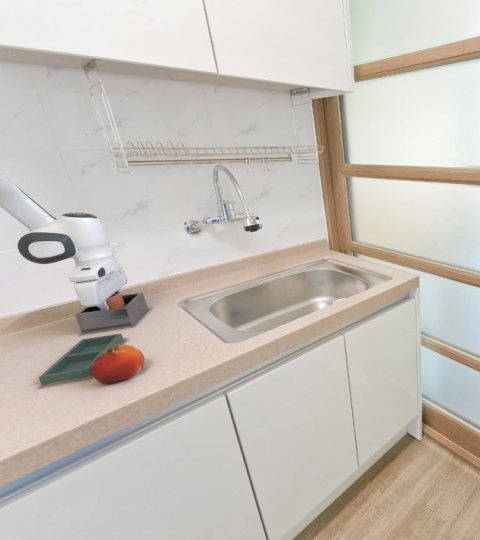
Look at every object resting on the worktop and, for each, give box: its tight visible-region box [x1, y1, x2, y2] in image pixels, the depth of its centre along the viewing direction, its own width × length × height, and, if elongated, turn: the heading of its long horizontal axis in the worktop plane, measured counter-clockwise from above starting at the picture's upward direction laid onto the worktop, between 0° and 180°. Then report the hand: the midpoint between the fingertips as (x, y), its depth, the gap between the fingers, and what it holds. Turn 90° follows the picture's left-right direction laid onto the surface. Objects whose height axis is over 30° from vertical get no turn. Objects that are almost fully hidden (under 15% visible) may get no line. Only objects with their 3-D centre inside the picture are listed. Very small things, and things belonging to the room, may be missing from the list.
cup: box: [100, 291, 126, 310], centre depth 104 cm, size 6×6×8 cm
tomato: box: [91, 343, 145, 384], centre depth 77 cm, size 9×9×8 cm
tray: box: [38, 333, 124, 386], centre depth 84 cm, size 9×17×3 cm, turn 18°
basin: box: [74, 292, 149, 335], centre depth 104 cm, size 13×13×7 cm
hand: (113, 307), depth 104 cm, fingers closed on cup, 6 cm apart
